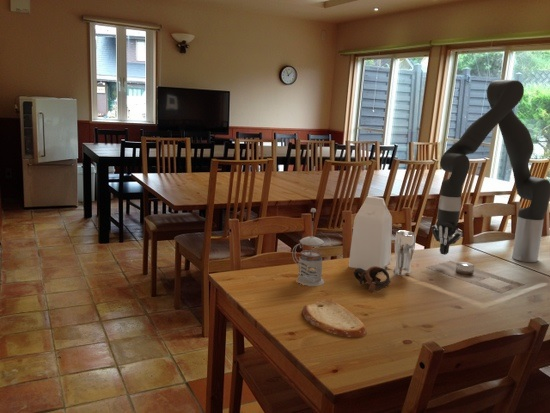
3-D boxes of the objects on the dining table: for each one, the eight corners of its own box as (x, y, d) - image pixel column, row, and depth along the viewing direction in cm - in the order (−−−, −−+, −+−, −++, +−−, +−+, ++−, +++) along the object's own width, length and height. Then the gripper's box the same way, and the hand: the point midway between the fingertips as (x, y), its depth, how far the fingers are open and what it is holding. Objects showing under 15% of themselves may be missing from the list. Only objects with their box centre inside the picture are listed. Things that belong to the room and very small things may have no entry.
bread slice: (366, 340, 125) (367, 326, 124) (296, 332, 128) (297, 318, 127) (366, 312, 143) (367, 300, 142) (304, 305, 146) (305, 293, 145)
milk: (390, 265, 184) (396, 197, 179) (379, 273, 175) (385, 202, 169) (360, 259, 191) (365, 193, 185) (348, 266, 181) (353, 197, 176)
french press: (316, 288, 158) (320, 212, 153) (285, 280, 164) (288, 207, 159) (329, 280, 166) (333, 207, 161) (299, 272, 172) (302, 203, 167)
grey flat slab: (450, 263, 189) (450, 260, 188) (524, 287, 166) (524, 284, 166) (425, 270, 180) (425, 267, 180) (500, 296, 157) (500, 292, 157)
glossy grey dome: (461, 268, 180) (462, 260, 179) (476, 273, 175) (477, 265, 174) (452, 271, 176) (453, 263, 175) (467, 276, 171) (468, 268, 171)
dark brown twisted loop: (387, 285, 165) (394, 269, 159) (381, 305, 158) (388, 290, 153) (353, 272, 168) (359, 256, 162) (346, 291, 161) (351, 275, 155)
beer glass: (410, 271, 179) (414, 231, 176) (413, 277, 172) (417, 236, 169) (391, 269, 179) (394, 230, 176) (393, 276, 172) (397, 235, 169)
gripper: (471, 210, 175) (465, 257, 178) (440, 203, 185) (434, 248, 189) (459, 212, 171) (453, 260, 174) (427, 205, 181) (422, 250, 185)
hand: (443, 253), depth 181 cm, fingers closed
